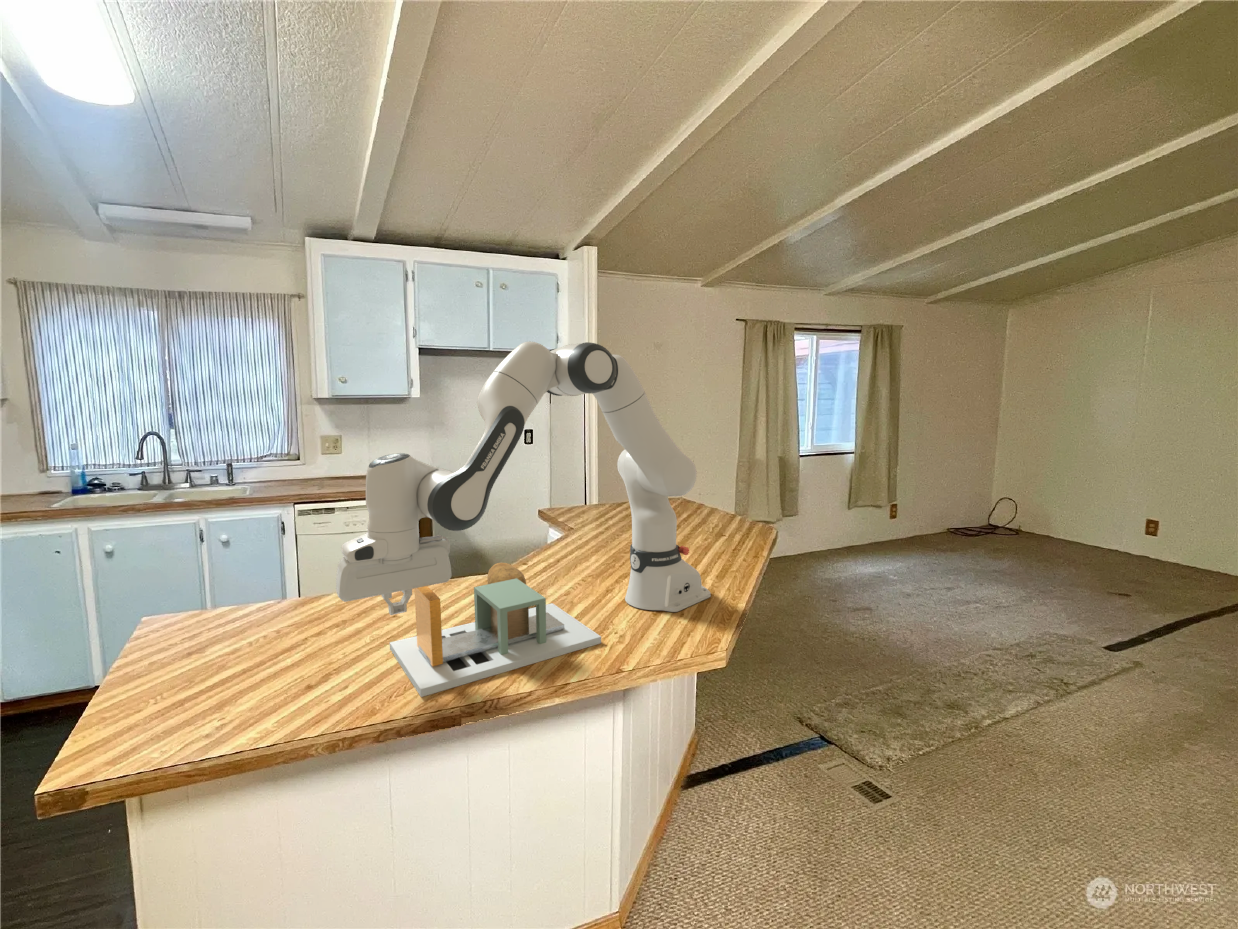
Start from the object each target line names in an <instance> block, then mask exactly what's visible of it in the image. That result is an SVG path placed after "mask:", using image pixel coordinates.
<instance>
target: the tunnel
mask: <svg viewBox="0 0 1238 929" xmlns="http://www.w3.org/2000/svg"><path fill="white" fill-rule="evenodd" d="M473 595H474V596H473V599H474V601H473V603H474V622H475V630H479V629H483V628H487V627H491V610H490V605H491V606H492V607H493V608H494V609H495V610H497V624H498V652H499V653H500V654H501V655H503V654H507V653H508V621H507V612H509V611H513V610H517V609H521V608H526V607H528V608H531V607H536V639H537V642H538V643H539V644H543V643H546V605H547V601H546V599H547V598H546V597H545V596H544V595H542V594H540V593H539V592H537V591H536V590H534V588H531V587H530V586H529V585H528V584H527V583H526V584H524V583H523V582H521V581H520V580H518V579H517V578H516V579H511V580H506V581H502V582H497V583H492V584H488V583H487V584H483V585H479V586H474V587H473Z"/></svg>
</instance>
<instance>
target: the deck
mask: <svg viewBox="0 0 1238 929" xmlns="http://www.w3.org/2000/svg"><path fill="white" fill-rule="evenodd" d="M547 612H548V613H549V614H550V615H552V616H553V617H554V618H556V619H557V620H559V621H560V622H561V623H563V624H564V628H565V629H563V630H559V631H555V632H552V633H548V634H546V643H543V644H539V643H538V642H537V639H536V637H533V638H530V639H526V640H522V641H519V642H515V643H511V644H508V653H507V654H503V655H501V654H500V653H499V652H498V647H497V648H493V649H489V650H486V651H482V652H478V653H475V654H471V655H467V656H464V657H460V658H456V659H453V660H449V661H445V662H443V664H440V665H437V666H433V667H432V665H430V663H429V662H428V661H427V659H426V658H425V657H424V655H423V654H422V653H421V651H420V650H419V648H418V647H417V635H414V636H412V637H410V636H409V637H406V638H402V639H397V640H395V641H394V640H393V641H389V650H390V652H391V651H392V652H391V653H392V655H393V654H394V655H393V656H394V658H395V657H396V658H395V659H396V661H397V662H398V664H399V666H400V667H401V668H402V670H403V672H404V673H405V675H406V677H407V678H408V680H409V681H410V683H411V684H412V686H413V687H414V689H415V690H416V691H417V693H418V695H419V696H420V698H423V697H426V696H430V695H433V694H436V693H439V692H444V691H447V690H449V689H453V688H456V687H460V686H463V685H466V684H470V683H473V682H476V681H480V680H483V679H486V678H489V677H492V676H493V677H494V676H496V675H499V674H503V673H506V672H510V671H512V670H516V669H520V668H522V667H526V666H529V665H533V664H536V663H539V662H542V661H546V660H550V659H553V658H557V657H559V656H563V655H567V654H569V653H573V652H577V651H579V650H582V649H583V650H584V649H586V648H590V647H593V646H596V645H600V644H602V636H601V635H599V634H598V633H597V632H595V631H594V630H592V629H591V628H589V627H588V626H586V625H585V624H583V623H582V622H580V621H579V620H578V619H577V618H575V617H574V616H572V615H570V614H568V612H566V611H565V610H563V609H561V607H559V606H557V605H556V604H555V603H546V613H547ZM535 615H536V606H533V607H529V617H531V616H535ZM471 631H475V621H474V622H469V623H465V624H461V625H456V626H451V627H449V628H444V629H442V639H443V638H447V637H451V636H455V635H459V634H463V633H467V632H471Z"/></svg>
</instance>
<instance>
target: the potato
mask: <svg viewBox="0 0 1238 929" xmlns="http://www.w3.org/2000/svg"><path fill="white" fill-rule="evenodd" d="M516 578H517V579H518V580H520V581H521V582H523V583H524V584H526V585H527V581H526V578H525V575H524V574H523V572H522V571H521V570H520V569H518V567H515V566H514V565H512V564H510V563H507V562H498V563H495V564H493V565H492V566H491V567H490V568H489V569H488V573H487V582H486V583H487V584H492V583H497V582H502V581H506V580H511V579H516Z"/></svg>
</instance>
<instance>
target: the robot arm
mask: <svg viewBox="0 0 1238 929" xmlns="http://www.w3.org/2000/svg"><path fill="white" fill-rule="evenodd" d="M638 377H639V376H637V374H636V372H635V370H634V369H633V368H632V366H631V364H630V363H629V362H628V361H627V360H626V358H625V357H623V356H622V355H620V354H612V353H611V352H610V350H608V349H607V348H606V347H604V346H603V345H601V344H599V343H595V342H589V341H588V342H582V343H571V344H569V343H568V344H566V345H564V346H561V347H557V348H552V349H548V348H547V347H546V346H544V345H543V344H541V343H538V342H535V341H530V340H529V341H523V342H522V343H520V344H519V345H517V347H515V348H514V349H512V351H510V353H508V354H507V356H506V357H504V359H503V360H502V361H501V362H499V364H498V365H497V366H496V368H495V369H494V370H493V371H492V372H491V374H490V375H489V376H488V378H487V379H486V380H485V382H484V384H483V385H482V388H481V389H480V391H479V394H478V396H477V401H476V403H477V409H478V413H479V414H480V416H481V418H482V419H483V421H484V424H485V425H484V426H485V427H484V431H483V435H482V436H481V438H480V439H479V441H478V443H477V444H476V446H475V447H474V449H473V451H472V452H471V454H470V455H469V457H468V458H467V460H466V462H465V464H463V466H462V467H461V468H460V469H458V470H456V471H453V470H448V469H445V468H442V467H439V466H434V465H431V464H428V463H425V462H423V461H420V460H419V459H416V458H414V457H413V456H411V454H409V453H403V452H402V453H401V452H399V453H391V454H390V453H389V454H386V455H383V456H382V455H381V456H379V457H376V458H375V459H374V460H372V461H371V462H370V463H369V464H368V466H367V469H366V474H365V505H366V508H367V512H368V523H367V527H366V528H367V532H366V533H364V534H361V535H359V536H356V537H355V538H352V539H350V540H348V541H346V542H344V543H342V544H341V547H340V548H341V550H340V551H341V554H342V556H343V557H342V558H341V559H340V560H339V562H338V564H337V568H336V578H335V579H336V580H335V584H336V585H335V589H336V591H335V592H336V594H337V597H338V598H339V599H340V600H341V601H343V602H346V603H347V602H351V601H357V600H362V599H367V598H373V597H377V596H381V598H382V599H383V600H384V601H385V603H386V604H387V605H388V606H387V608H388V613H389V616H394V615H397V614H403V613H407V612H408V609H407V605H408V603H409V601H410V598H411V597H412V596H413V590H414V588H419V587H424V586H428V587H429V586H434V585H438V584H446V583H448V582H449V581H450V579H451V578H452V567H451V562H450V557H449V554H450V552H451V542H450V540H449V538H447V537H445V536H443V535H441V534H439V535H436V534H435V535H434V536H425V537H420V533H419V532H420V529H419V521H420V520H421V519H422V518H429V519H431V520H433V521H434V522H435V523H437V524H438V525H440V526H441V527H443V528H444V529H446V530H449V531H454V532H461V531H464V530H467V529H469V528H472V527H473V526H475V525H476V524H477V523H478V522H479V521H480V520H481V519H482V517H483V515H484V513H485V512H486V509H487V507H488V503H489V499H490V494H491V492H492V489H493V486H494V484H495V483H496V481H497V479H498V477H499V476H500V474H501V472H502V470H503V469H504V467H505V466H506V464H507V462H508V460H509V459H510V456H511V455H512V453H513V451H514V450H515V449H516V446H517V444H518V442H519V441H520V439H521V437H522V434H523V432H524V429H525V425H526V422H527V421H528V419H529V417H530V415H532V412H534V410H535V408H536V406H537V405H538V404H539V402H540V401H541V400H542V398H543V396H544V395H545V394H546V393H547V394H549V395H553V396H556V397H557V396H558V397H559V396H560V397H562V396H565V397H566V396H567V397H576V396H581V395H585V394H589V395H590V394H591V395H593V397H594V398H595V400H596V402H597V404H598V406H599V408H600V410H601V413H602V415H603V417H604V419H605V421H606V423H607V426H608V427H609V429H610V432H611V433H612V435H613V437H614V439H615V441H616V442H617V443H618V444H619V445H620V446H621V447H622V448H623V450H622V451H621V452H620V454H619V456H618V458H617V462H616V467H617V471H618V474H619V475H620V477H621V479H622V481H623V483H624V485H625V490H626V494H627V497H628V502H629V506H630V513H631V544H630V546H629V548H630V549H629V562H630V572H629V580H628V585H627V589H626V593H625V597H624V600H625V603H627V604H628V605H629V606H631V607H634V608H637V609H640V610H646V611H647V610H649V611H665V612H670V613H677V612H680V611H682V610H684V609H686V608H689V607H691V606H693V605H695V604H698V603H700V602H702V601H705V600H707V599H709V598H711V596H712V595H711V591H710V590H709V589H708V588H706V587H705V586H703V585H702V578H701V574H700V572H699V570H697V568H695V567H693V566H692V565H691V564H689V562H686V561H685V560H684V559H682V555H685V556H687V555H689V553H690V548H689V547H687V546H684V545H681V546H679V545H678V544H677V522H678V521H677V515H676V512H675V510H674V508H673V507H672V505H671V502H670V500H669V497H682V496H685V495H687V494H688V493H689V492H690V491H691V490H692V489H693V488H694V486H695V484H696V481H697V477H698V476H697V474H698V472H697V468H696V465H695V463H694V461H693V460H692V459H691V458H690V457H688V456H687V455H686V454H685V453H684V452H683V451H682V450H681V449H680V448H679V447H678V445H677V444H676V442H674V440H673V439H672V437H671V436H670V435H669V433H668V432H667V430H666V429H665V427H664V426H663V425H662V423H661V422H660V421H659V419H658V417H657V415H656V413H655V410H654V409H653V406H652V404H651V402H650V399H649V398H648V395H647V394H646V392H645V389H644V387H643V385H642V383H641V381H640V379H639V378H638ZM681 554H682V555H681ZM398 592H401V593H403V595H402V597H401V600H400V601H397V602H396V601H395V602H392V601H391V600H390V599H392V598H393V595H392V593H398Z"/></svg>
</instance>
